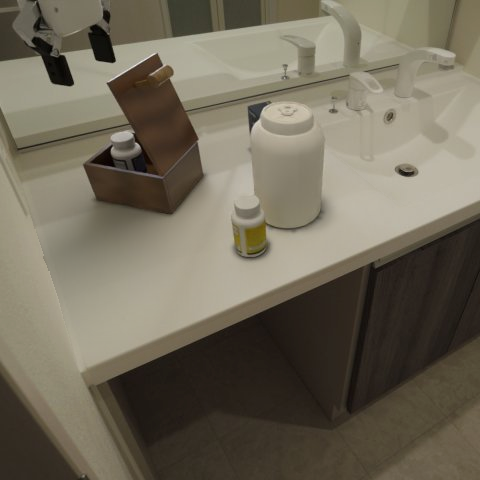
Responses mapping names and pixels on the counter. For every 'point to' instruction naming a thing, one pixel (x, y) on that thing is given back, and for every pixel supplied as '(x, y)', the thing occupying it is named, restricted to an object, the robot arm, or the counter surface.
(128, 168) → the pill bottle
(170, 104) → the lid
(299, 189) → the white canister
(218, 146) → the counter surface
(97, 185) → the chest
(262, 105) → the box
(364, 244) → the counter surface
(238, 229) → the supplement bottle
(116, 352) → the counter surface
